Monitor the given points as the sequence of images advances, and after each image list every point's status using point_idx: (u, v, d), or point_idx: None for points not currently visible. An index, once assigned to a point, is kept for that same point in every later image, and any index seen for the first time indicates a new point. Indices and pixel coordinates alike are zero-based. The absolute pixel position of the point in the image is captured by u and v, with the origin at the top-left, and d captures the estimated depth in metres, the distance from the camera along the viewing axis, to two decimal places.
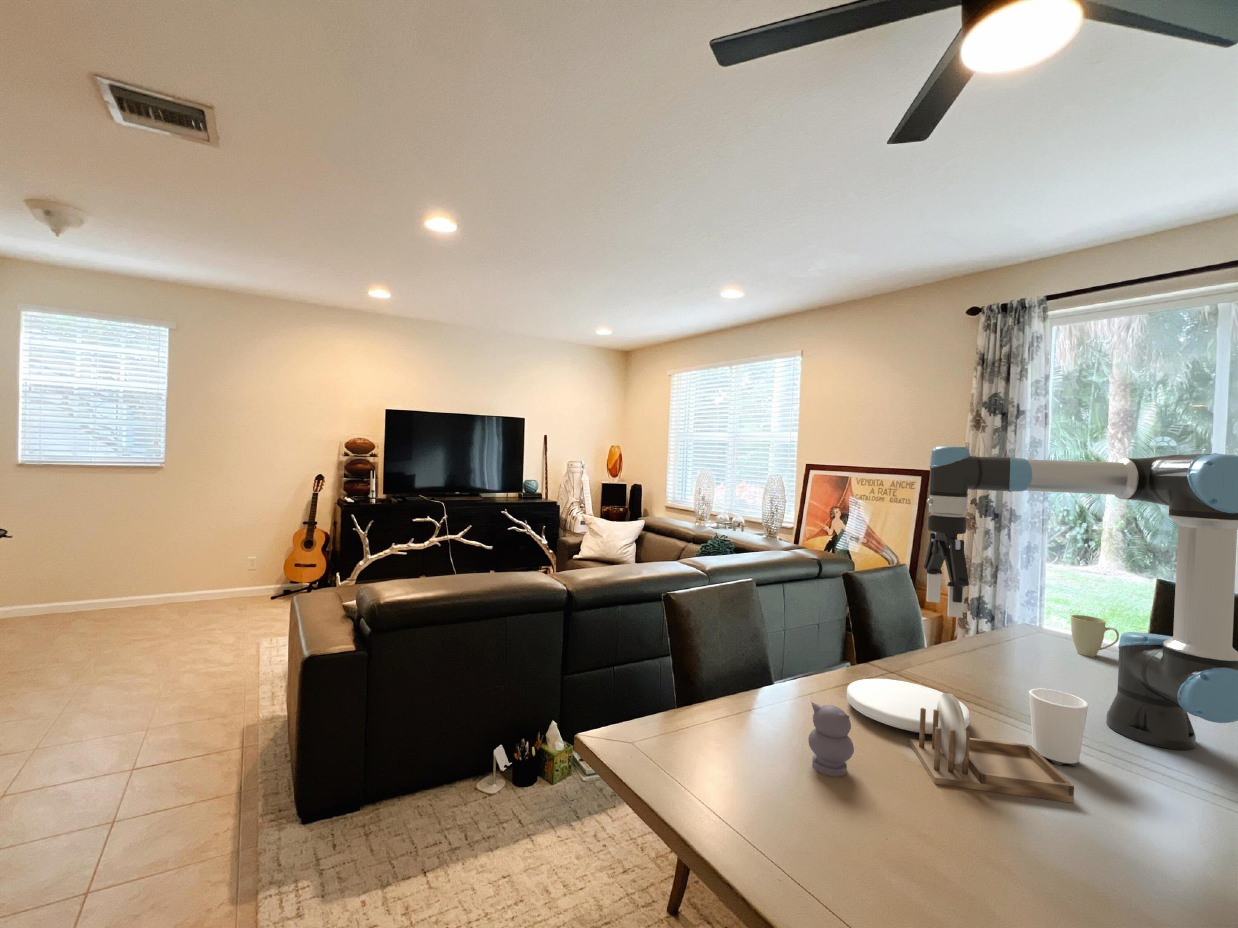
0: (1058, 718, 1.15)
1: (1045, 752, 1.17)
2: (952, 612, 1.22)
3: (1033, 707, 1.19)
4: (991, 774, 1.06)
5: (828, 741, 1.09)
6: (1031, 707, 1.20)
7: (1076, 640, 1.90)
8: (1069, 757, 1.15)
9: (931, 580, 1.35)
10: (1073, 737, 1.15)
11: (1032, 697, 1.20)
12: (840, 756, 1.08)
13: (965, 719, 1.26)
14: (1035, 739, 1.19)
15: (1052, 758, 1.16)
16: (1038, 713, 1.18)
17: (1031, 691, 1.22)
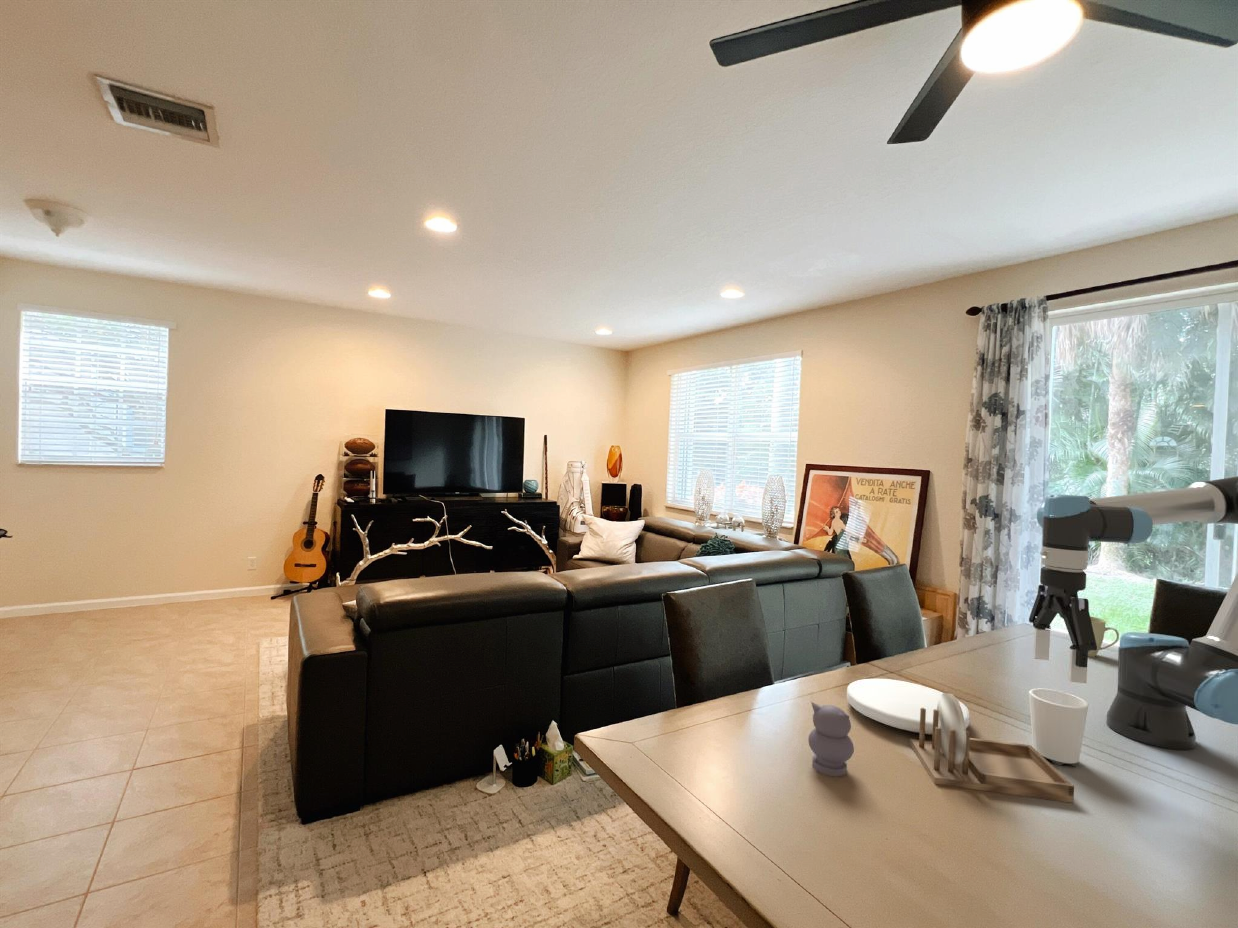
0: (1058, 718, 1.15)
1: (1045, 752, 1.17)
2: (1075, 677, 1.12)
3: (1033, 707, 1.19)
4: (991, 774, 1.06)
5: (828, 741, 1.09)
6: (1031, 707, 1.20)
7: None
8: (1069, 757, 1.15)
9: (1039, 636, 1.25)
10: (1073, 737, 1.15)
11: (1032, 697, 1.20)
12: (840, 756, 1.08)
13: (965, 719, 1.26)
14: (1035, 739, 1.19)
15: (1052, 758, 1.16)
16: (1038, 713, 1.18)
17: (1031, 691, 1.22)
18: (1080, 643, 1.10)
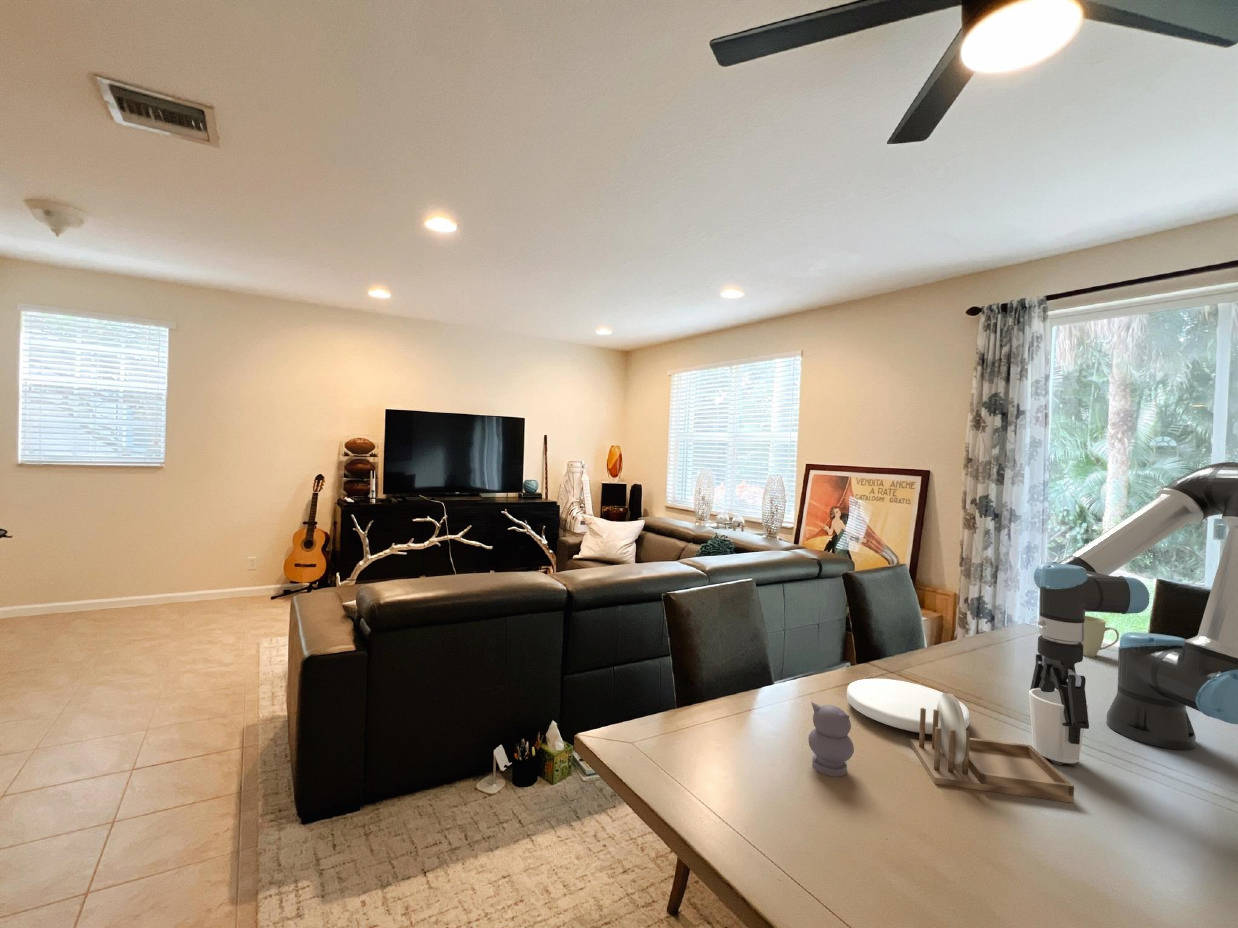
0: (1058, 718, 1.15)
1: (1045, 752, 1.17)
2: (1068, 753, 1.14)
3: (1033, 707, 1.20)
4: (991, 774, 1.06)
5: (828, 741, 1.09)
6: (1031, 707, 1.20)
7: None
8: None
9: None
10: None
11: (1032, 697, 1.20)
12: (840, 756, 1.08)
13: (965, 719, 1.26)
14: (1035, 739, 1.19)
15: (1052, 758, 1.16)
16: (1038, 712, 1.18)
17: (1031, 691, 1.22)
18: (1073, 721, 1.11)
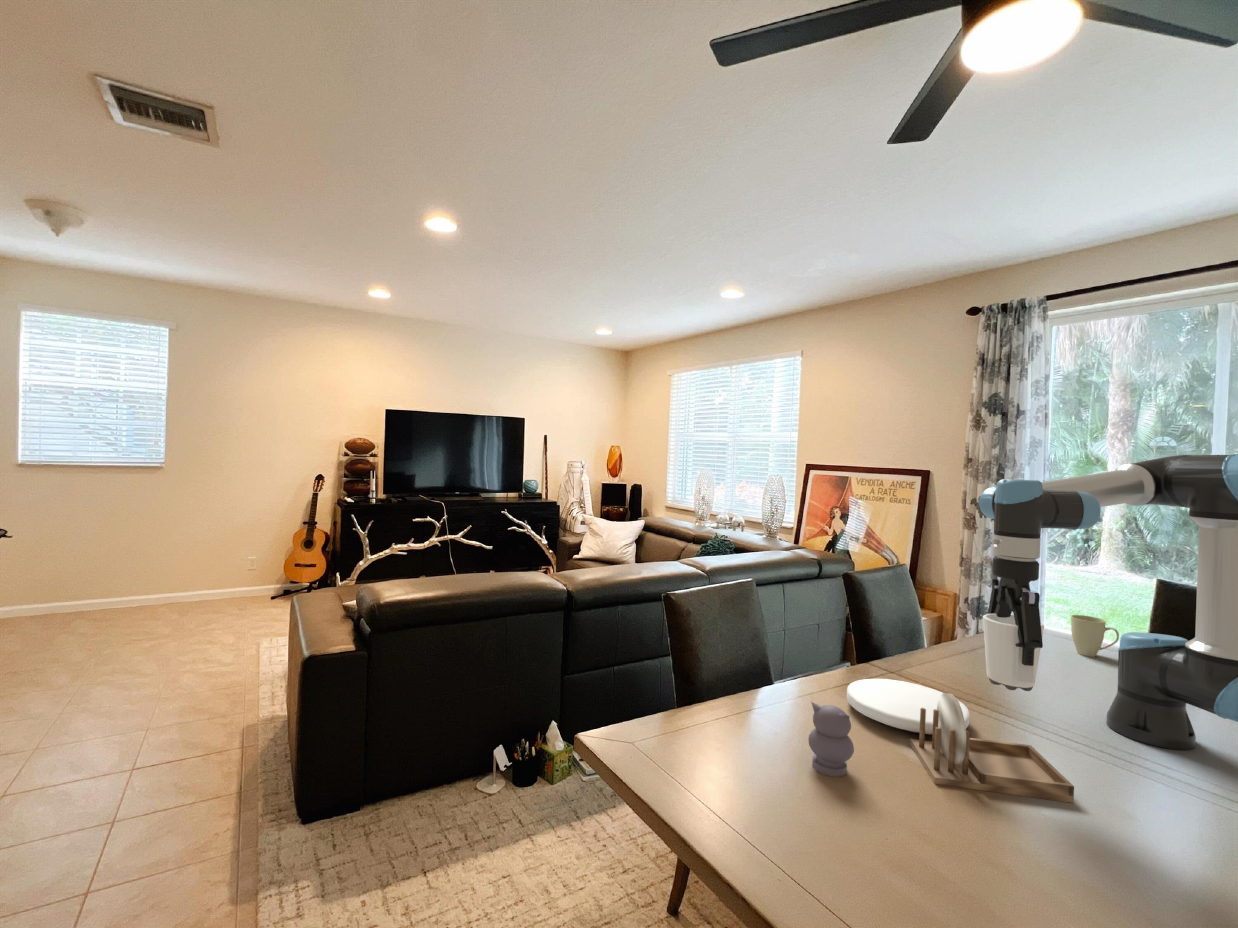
0: (1011, 639, 1.08)
1: (998, 677, 1.10)
2: (1021, 676, 1.06)
3: (986, 631, 1.12)
4: (991, 774, 1.06)
5: (828, 741, 1.09)
6: (985, 631, 1.13)
7: (1076, 640, 1.90)
8: None
9: None
10: None
11: (985, 620, 1.12)
12: (840, 756, 1.08)
13: (965, 719, 1.26)
14: (988, 665, 1.12)
15: (1005, 683, 1.09)
16: (991, 636, 1.11)
17: (985, 615, 1.14)
18: (1026, 640, 1.04)
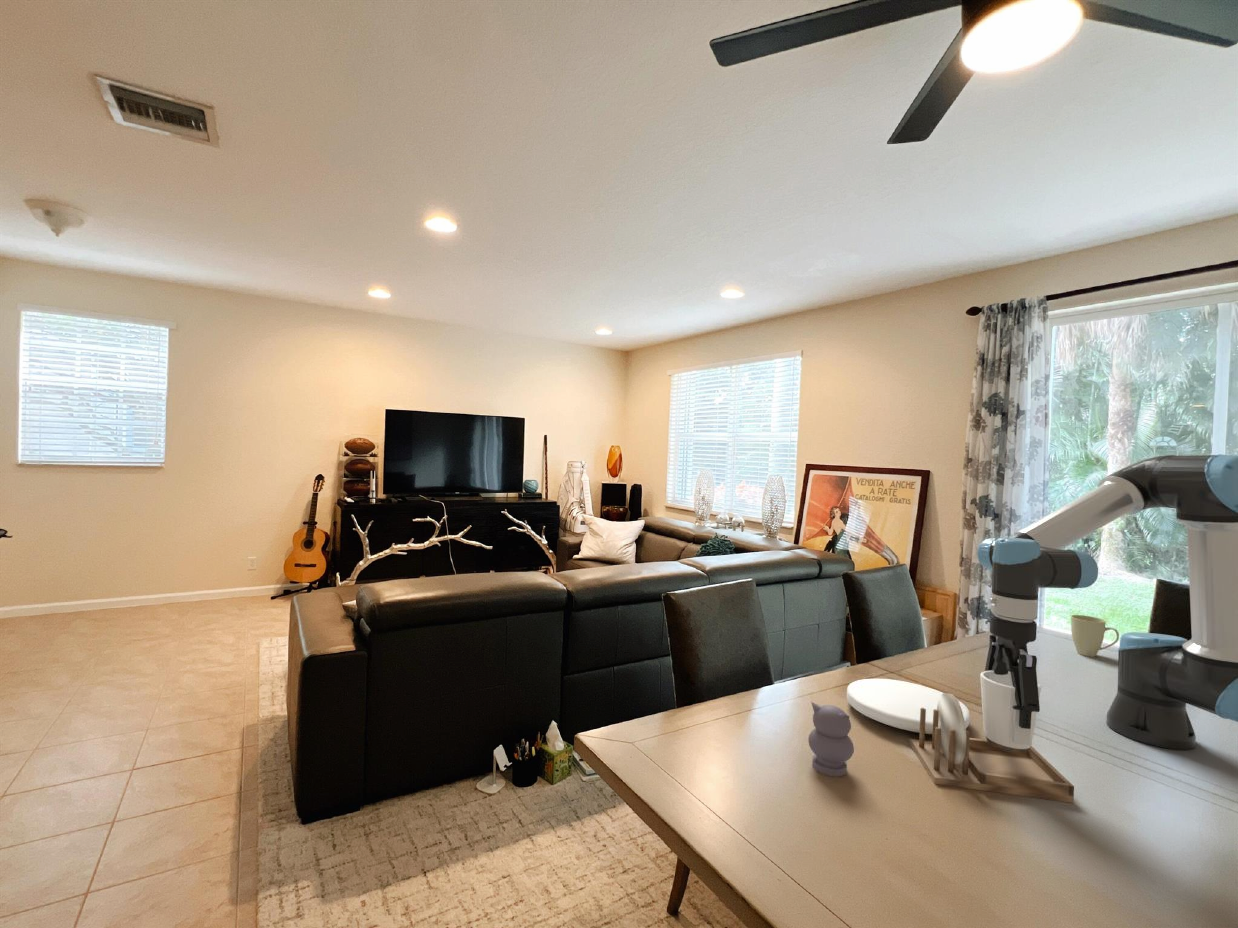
0: (1008, 701, 1.08)
1: (995, 737, 1.10)
2: (1018, 738, 1.06)
3: (984, 690, 1.12)
4: (991, 774, 1.06)
5: (828, 741, 1.09)
6: (982, 689, 1.13)
7: (1076, 640, 1.90)
8: None
9: None
10: None
11: (983, 679, 1.12)
12: (840, 756, 1.08)
13: (965, 719, 1.26)
14: (986, 724, 1.12)
15: (1002, 744, 1.09)
16: (989, 695, 1.11)
17: (982, 673, 1.14)
18: (1023, 704, 1.04)
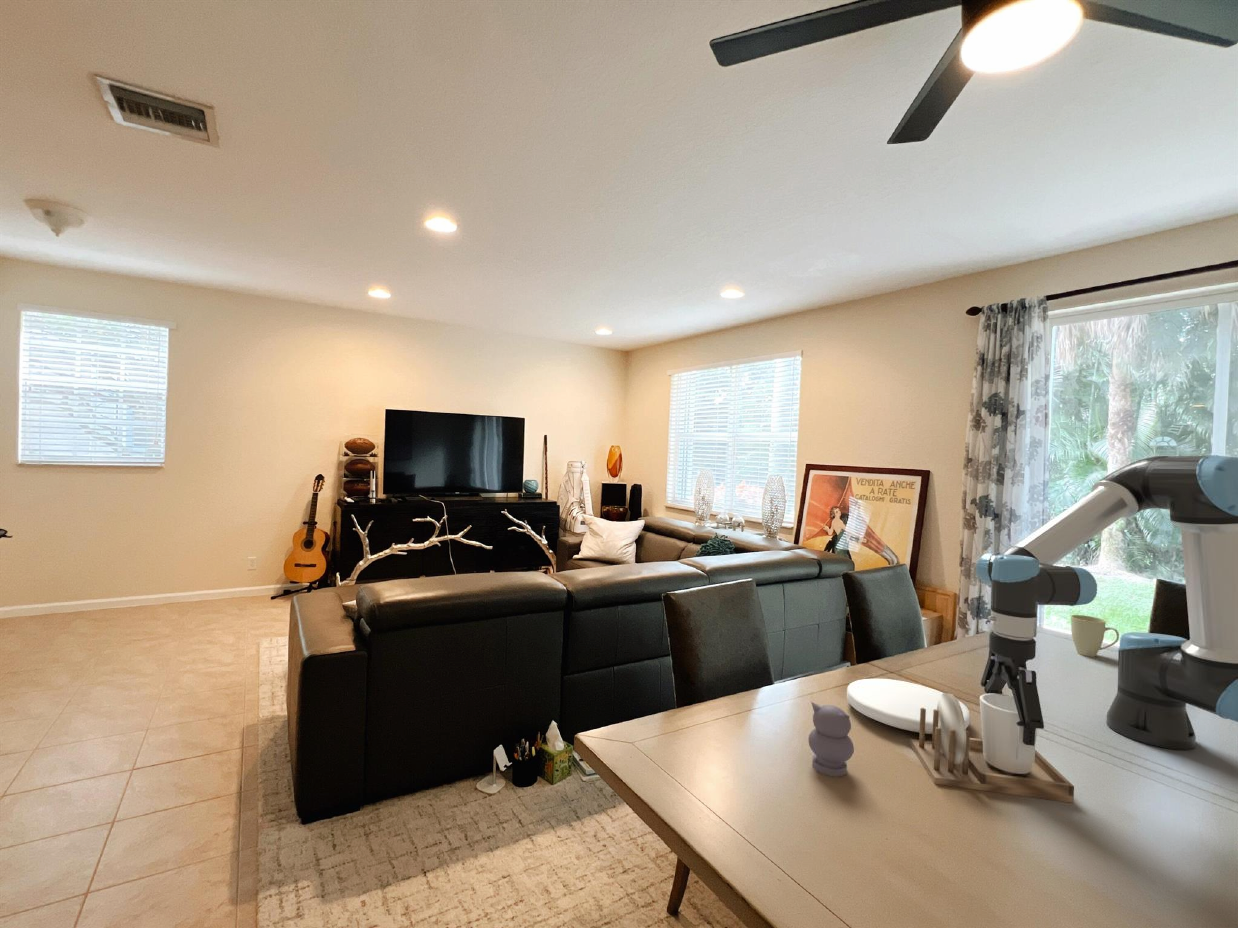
0: (1008, 725, 1.08)
1: (995, 762, 1.10)
2: (1022, 755, 1.05)
3: (983, 714, 1.12)
4: (991, 774, 1.06)
5: (828, 741, 1.09)
6: (982, 713, 1.13)
7: (1076, 640, 1.90)
8: (1020, 767, 1.08)
9: None
10: None
11: (982, 703, 1.12)
12: (840, 756, 1.08)
13: (965, 719, 1.26)
14: (985, 748, 1.12)
15: (1002, 768, 1.09)
16: (988, 719, 1.11)
17: (982, 696, 1.15)
18: (1026, 720, 1.03)
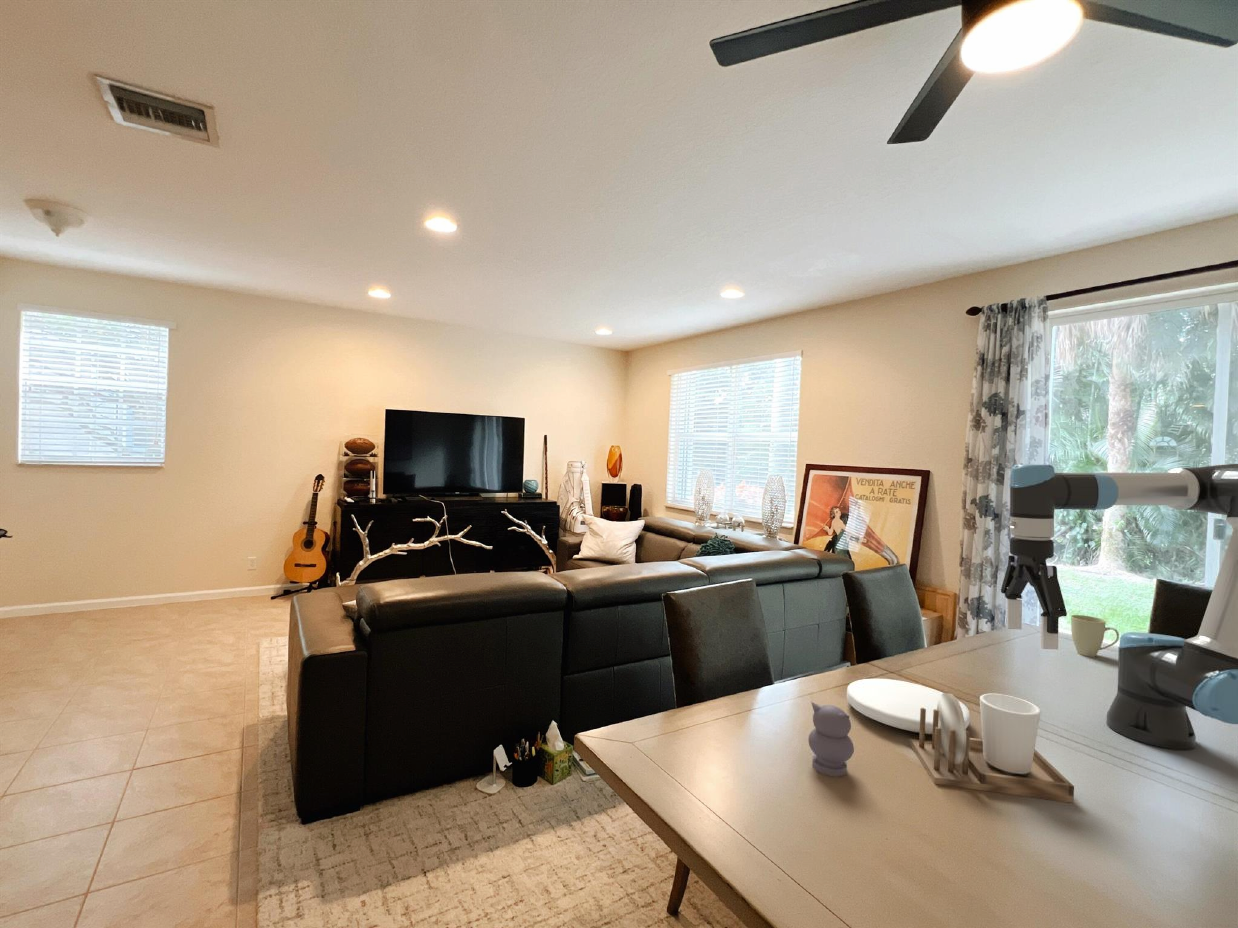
0: (1008, 726, 1.08)
1: (995, 762, 1.10)
2: (1047, 644, 1.13)
3: (983, 714, 1.12)
4: (991, 774, 1.06)
5: (828, 741, 1.09)
6: (982, 713, 1.13)
7: (1076, 640, 1.90)
8: (1020, 767, 1.08)
9: (1011, 606, 1.26)
10: (1024, 746, 1.07)
11: (982, 703, 1.12)
12: (840, 756, 1.08)
13: (965, 719, 1.26)
14: (985, 748, 1.12)
15: (1002, 768, 1.09)
16: (988, 720, 1.11)
17: (982, 696, 1.15)
18: (1050, 610, 1.11)
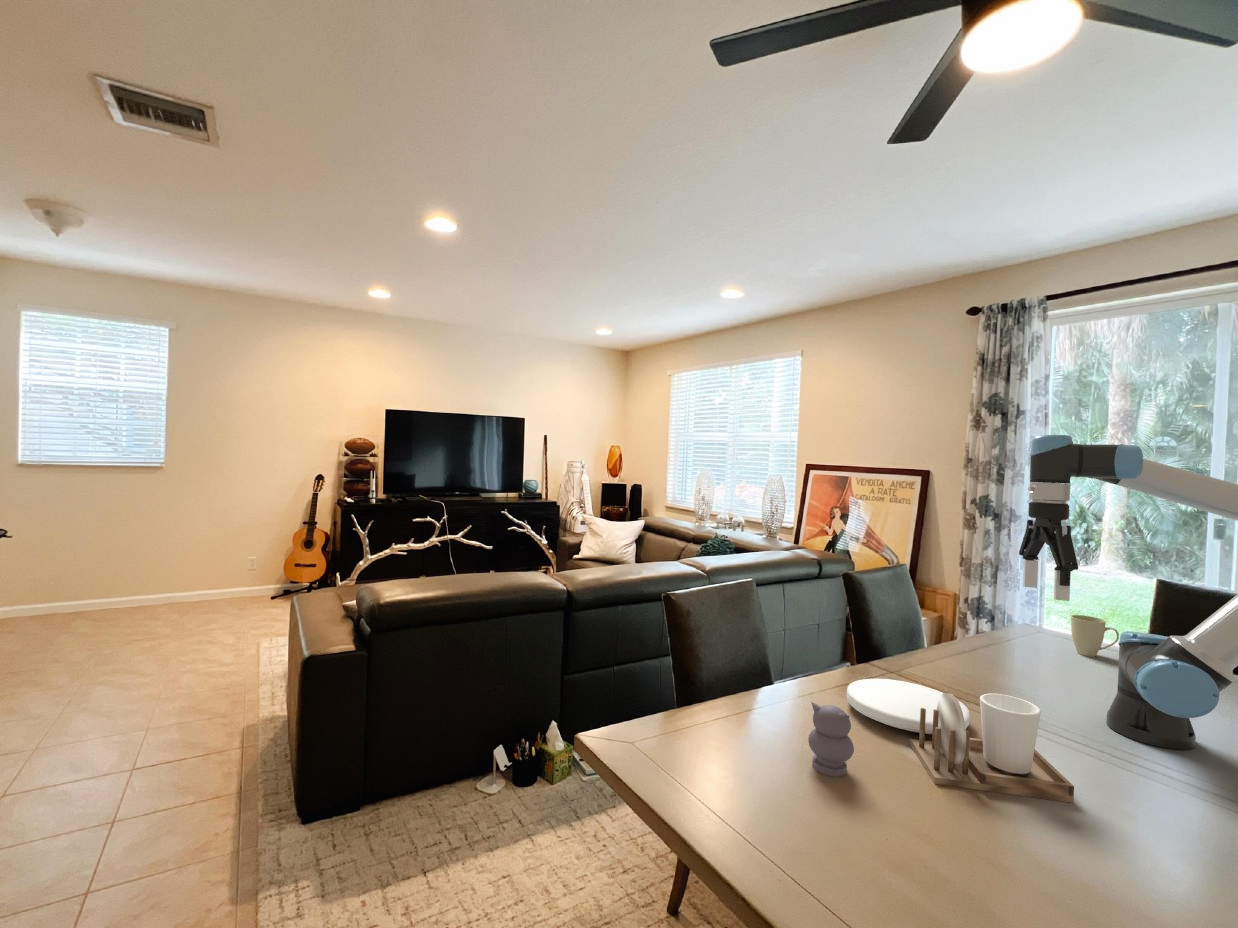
0: (1008, 726, 1.08)
1: (995, 762, 1.10)
2: (1059, 595, 1.25)
3: (983, 714, 1.12)
4: (991, 774, 1.06)
5: (828, 741, 1.09)
6: (982, 713, 1.13)
7: (1076, 640, 1.90)
8: (1020, 767, 1.08)
9: (1028, 566, 1.38)
10: (1024, 746, 1.07)
11: (982, 703, 1.12)
12: (840, 756, 1.08)
13: (965, 719, 1.26)
14: (985, 748, 1.12)
15: (1002, 768, 1.09)
16: (988, 720, 1.11)
17: (982, 696, 1.14)
18: (1063, 564, 1.23)
